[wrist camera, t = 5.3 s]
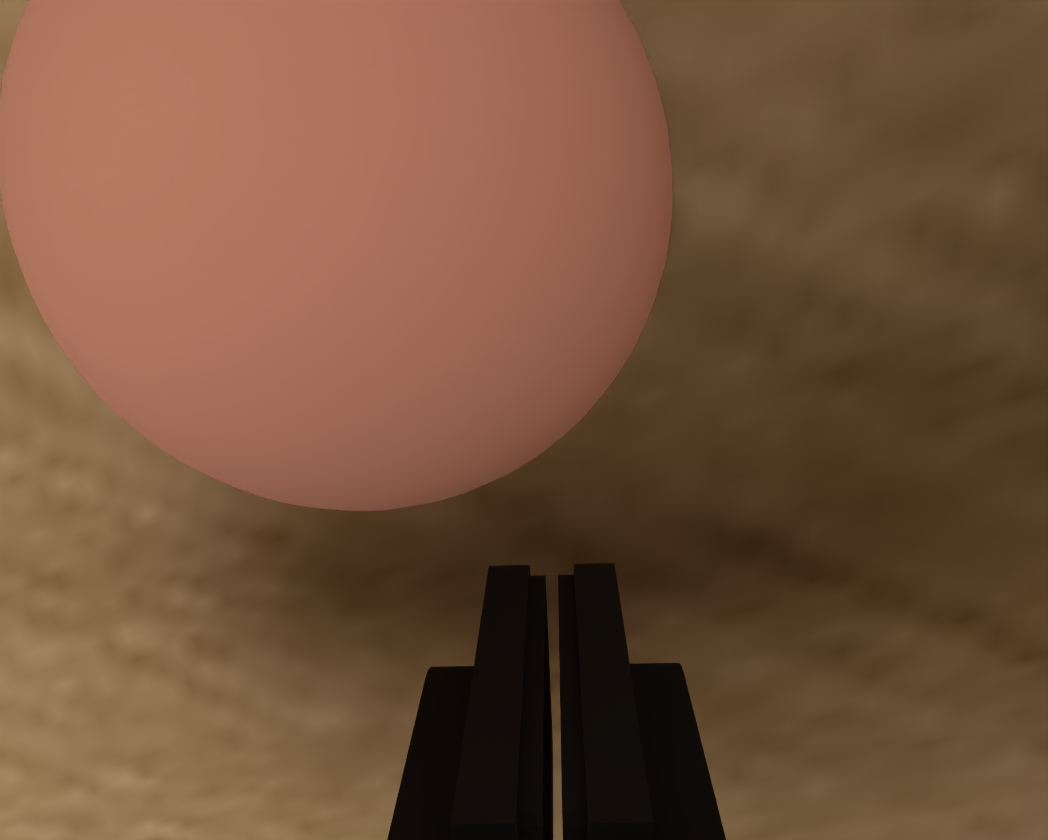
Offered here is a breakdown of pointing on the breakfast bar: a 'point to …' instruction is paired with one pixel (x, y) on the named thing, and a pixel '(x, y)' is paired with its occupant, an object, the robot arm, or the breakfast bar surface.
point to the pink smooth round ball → (339, 228)
